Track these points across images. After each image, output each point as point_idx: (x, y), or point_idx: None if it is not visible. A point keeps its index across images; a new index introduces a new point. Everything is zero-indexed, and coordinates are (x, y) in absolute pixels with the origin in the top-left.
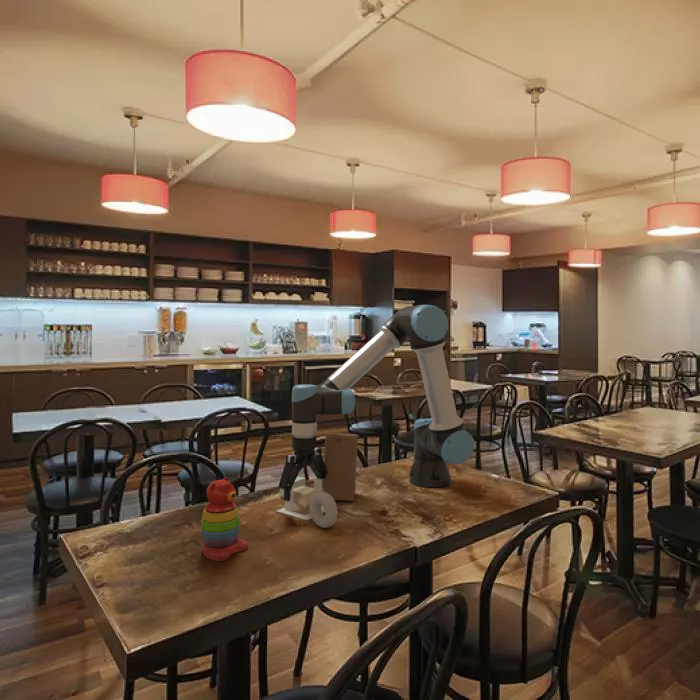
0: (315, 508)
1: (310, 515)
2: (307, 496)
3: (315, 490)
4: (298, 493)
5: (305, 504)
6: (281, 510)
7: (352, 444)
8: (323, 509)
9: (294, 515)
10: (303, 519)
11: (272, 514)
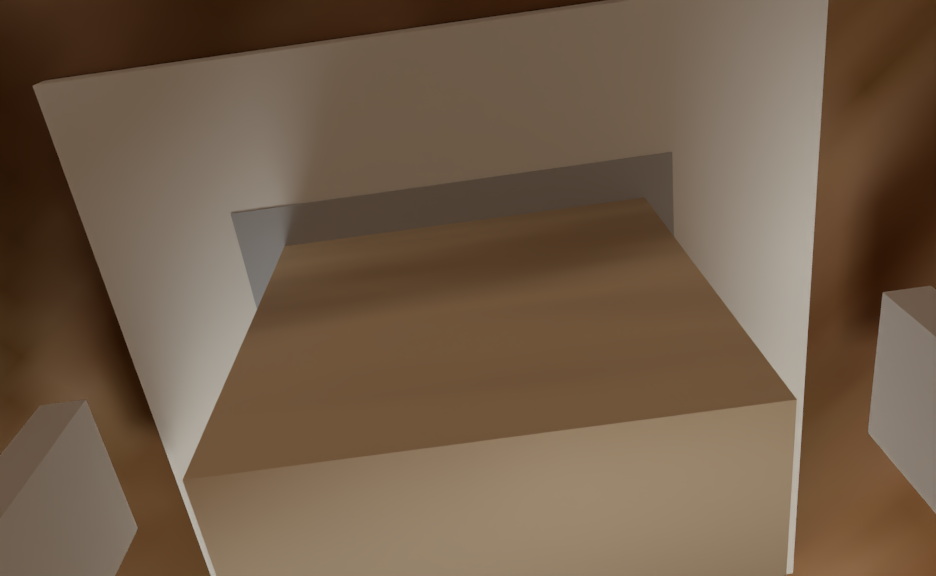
0: None
1: (632, 72)
2: (653, 360)
3: (298, 455)
4: (772, 574)
5: (677, 269)
6: None
7: None
8: (234, 134)
9: (799, 272)
10: (814, 52)
11: (884, 529)
